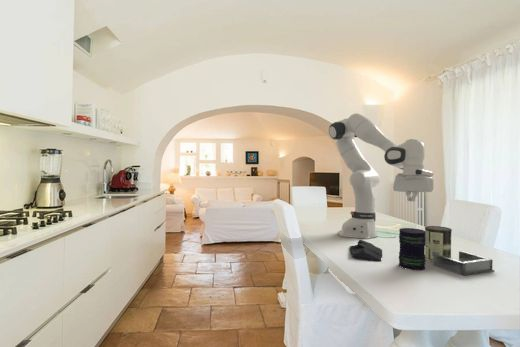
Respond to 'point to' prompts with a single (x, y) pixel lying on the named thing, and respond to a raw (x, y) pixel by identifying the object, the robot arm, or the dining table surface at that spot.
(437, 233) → the coffee can
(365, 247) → the dark slate chunk
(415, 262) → the storage jar
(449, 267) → the receiver bay
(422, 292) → the dining table surface
